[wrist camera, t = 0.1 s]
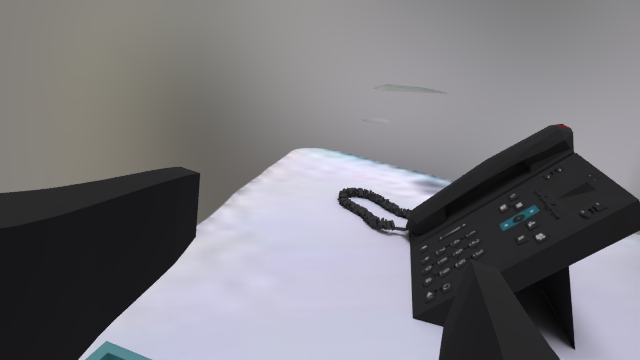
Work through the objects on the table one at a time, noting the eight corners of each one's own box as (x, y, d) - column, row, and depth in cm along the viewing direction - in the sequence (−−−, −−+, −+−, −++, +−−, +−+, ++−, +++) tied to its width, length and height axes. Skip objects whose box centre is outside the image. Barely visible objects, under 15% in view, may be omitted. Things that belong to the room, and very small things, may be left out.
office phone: (340, 191, 72) (368, 70, 65) (510, 233, 70) (559, 112, 63) (306, 292, 45) (347, 104, 38) (582, 366, 43) (684, 181, 35)
